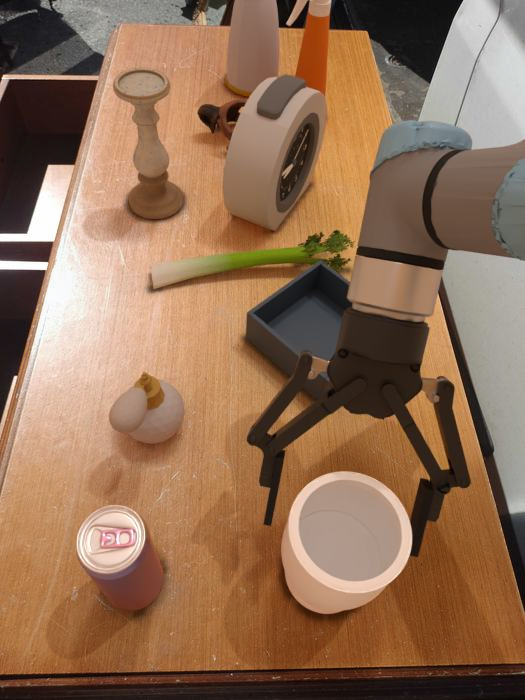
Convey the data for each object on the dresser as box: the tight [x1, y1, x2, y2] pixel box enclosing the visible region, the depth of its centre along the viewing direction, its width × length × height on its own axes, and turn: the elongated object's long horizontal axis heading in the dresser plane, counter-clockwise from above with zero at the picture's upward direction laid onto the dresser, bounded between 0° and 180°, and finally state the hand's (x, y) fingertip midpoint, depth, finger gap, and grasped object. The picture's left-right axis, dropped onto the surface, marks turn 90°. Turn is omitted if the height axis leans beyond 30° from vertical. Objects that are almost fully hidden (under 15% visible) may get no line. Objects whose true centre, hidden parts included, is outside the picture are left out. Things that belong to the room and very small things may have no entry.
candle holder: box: [112, 67, 184, 220], centre depth 83 cm, size 9×9×20 cm
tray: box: [245, 260, 352, 401], centre depth 74 cm, size 14×14×6 cm
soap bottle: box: [224, 0, 280, 98], centre depth 103 cm, size 11×12×26 cm
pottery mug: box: [197, 98, 247, 151], centre depth 100 cm, size 12×10×8 cm
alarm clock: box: [221, 73, 328, 231], centre depth 85 cm, size 21×8×20 cm, turn 153°
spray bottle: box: [285, 0, 332, 97], centre depth 96 cm, size 7×11×26 cm, turn 132°
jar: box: [280, 470, 412, 615], centre depth 53 cm, size 11×10×15 cm
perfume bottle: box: [108, 371, 186, 445], centre depth 62 cm, size 8×10×12 cm
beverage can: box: [75, 504, 164, 612], centre depth 52 cm, size 6×6×15 cm
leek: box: [149, 229, 356, 290], centre depth 82 cm, size 6×7×30 cm
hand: (339, 534), depth 52 cm, fingers open, 13 cm apart
